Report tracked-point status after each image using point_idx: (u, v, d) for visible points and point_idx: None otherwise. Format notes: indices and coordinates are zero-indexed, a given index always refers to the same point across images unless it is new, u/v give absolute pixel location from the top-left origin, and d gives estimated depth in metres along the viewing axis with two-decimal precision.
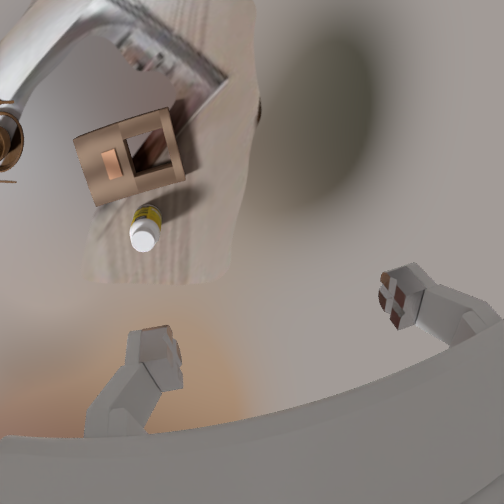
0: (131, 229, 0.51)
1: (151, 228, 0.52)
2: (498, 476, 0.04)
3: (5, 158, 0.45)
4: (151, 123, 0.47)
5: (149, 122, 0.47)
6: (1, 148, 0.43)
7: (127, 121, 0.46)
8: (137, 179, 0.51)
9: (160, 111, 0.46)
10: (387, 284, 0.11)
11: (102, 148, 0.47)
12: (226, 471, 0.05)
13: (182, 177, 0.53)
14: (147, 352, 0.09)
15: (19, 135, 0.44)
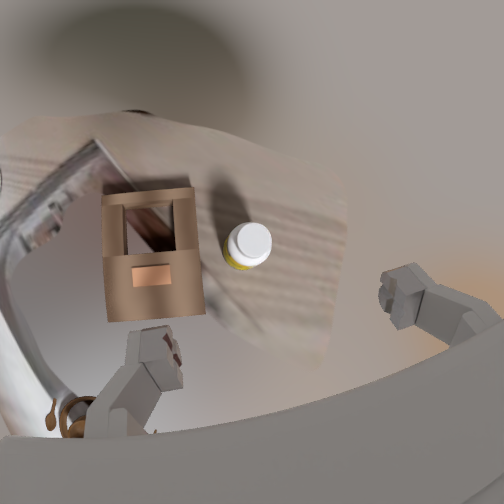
0: (239, 259, 0.38)
1: None
2: (498, 476, 0.04)
3: None
4: (113, 216, 0.40)
5: (111, 217, 0.40)
6: None
7: (103, 244, 0.39)
8: (179, 246, 0.41)
9: (103, 203, 0.40)
10: (387, 284, 0.11)
11: (127, 284, 0.39)
12: (226, 471, 0.05)
13: (189, 190, 0.42)
14: (147, 352, 0.09)
15: None
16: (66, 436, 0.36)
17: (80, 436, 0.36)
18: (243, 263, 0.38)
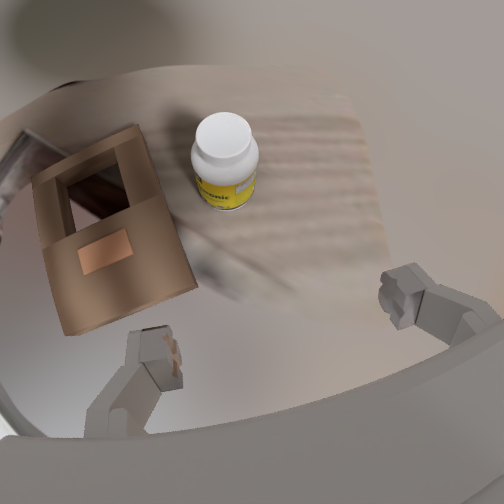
0: (213, 176, 0.23)
1: None
2: (498, 476, 0.04)
3: None
4: (46, 195, 0.27)
5: (45, 197, 0.27)
6: None
7: (40, 233, 0.26)
8: (133, 200, 0.27)
9: (33, 185, 0.27)
10: (387, 284, 0.11)
11: (77, 274, 0.25)
12: (226, 471, 0.05)
13: (132, 129, 0.29)
14: (147, 352, 0.09)
15: None
16: None
17: None
18: (222, 181, 0.23)
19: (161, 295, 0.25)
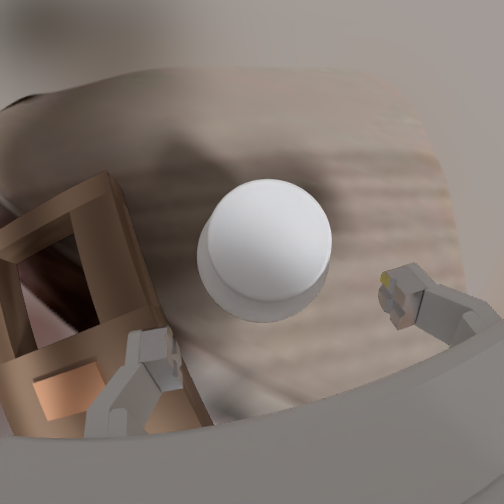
0: (245, 313, 0.12)
1: None
2: (498, 476, 0.04)
3: None
4: None
5: None
6: None
7: None
8: (104, 312, 0.16)
9: None
10: (387, 284, 0.11)
11: (39, 415, 0.14)
12: (226, 471, 0.05)
13: (98, 179, 0.17)
14: (147, 352, 0.09)
15: None
16: None
17: None
18: (262, 319, 0.12)
19: None
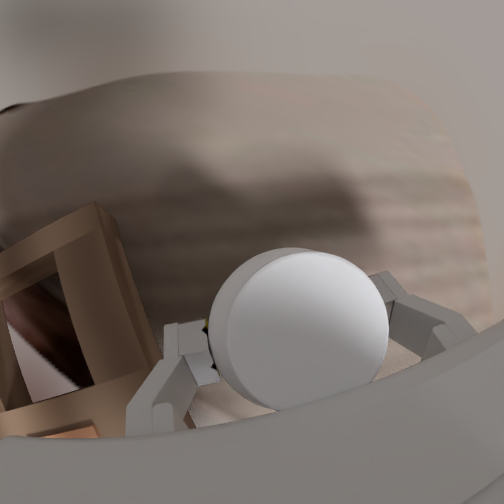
0: None
1: None
2: (498, 476, 0.04)
3: None
4: None
5: None
6: None
7: None
8: (99, 373, 0.13)
9: None
10: None
11: None
12: (226, 471, 0.05)
13: (85, 213, 0.14)
14: (187, 345, 0.10)
15: None
16: None
17: None
18: None
19: None
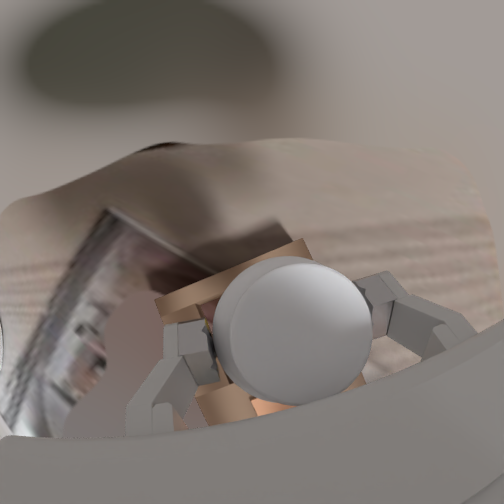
0: None
1: None
2: (498, 476, 0.04)
3: None
4: None
5: None
6: None
7: None
8: None
9: (162, 312, 0.25)
10: None
11: None
12: (226, 471, 0.05)
13: (297, 245, 0.26)
14: (186, 345, 0.10)
15: None
16: None
17: None
18: None
19: None
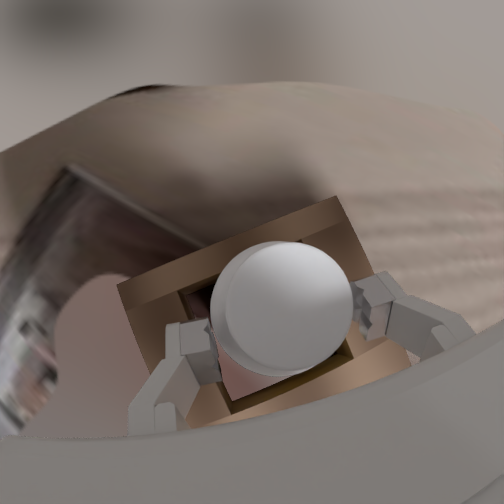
0: (273, 372, 0.11)
1: None
2: (498, 476, 0.04)
3: None
4: None
5: (162, 334, 0.15)
6: None
7: None
8: (358, 346, 0.16)
9: (127, 304, 0.16)
10: (355, 294, 0.11)
11: None
12: (226, 471, 0.05)
13: (329, 205, 0.17)
14: (189, 344, 0.10)
15: None
16: None
17: None
18: (291, 374, 0.11)
19: None
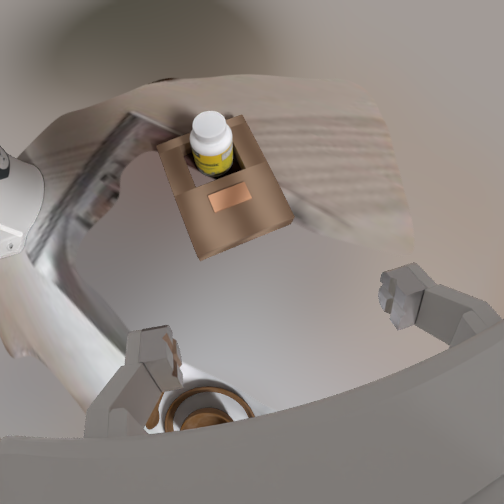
0: (207, 151, 0.37)
1: None
2: (498, 476, 0.04)
3: None
4: (174, 158, 0.41)
5: (172, 160, 0.41)
6: None
7: (172, 185, 0.40)
8: (247, 164, 0.41)
9: (159, 151, 0.41)
10: (387, 284, 0.11)
11: (208, 212, 0.40)
12: (226, 471, 0.05)
13: (239, 117, 0.43)
14: (147, 352, 0.09)
15: None
16: None
17: None
18: (212, 152, 0.37)
19: (273, 224, 0.40)
